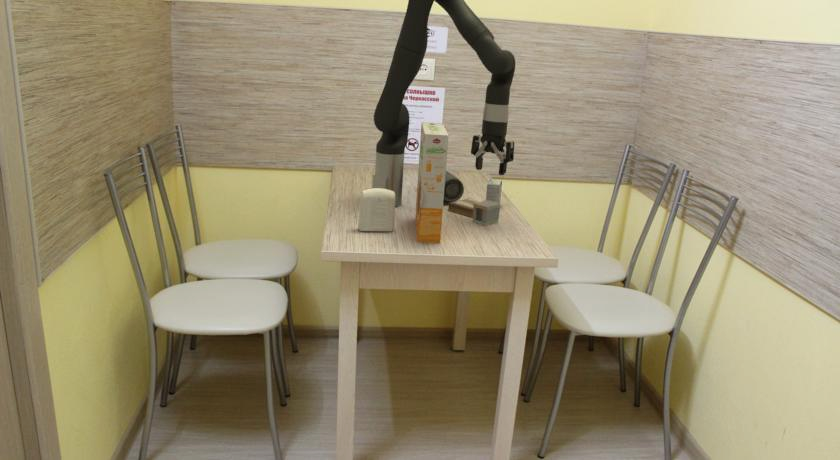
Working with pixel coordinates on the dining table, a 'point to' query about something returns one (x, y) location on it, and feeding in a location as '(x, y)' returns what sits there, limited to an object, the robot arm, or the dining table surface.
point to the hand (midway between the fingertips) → (490, 172)
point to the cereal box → (431, 181)
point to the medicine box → (494, 190)
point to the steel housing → (486, 212)
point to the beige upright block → (377, 210)
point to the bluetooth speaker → (452, 188)
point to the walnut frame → (463, 207)
